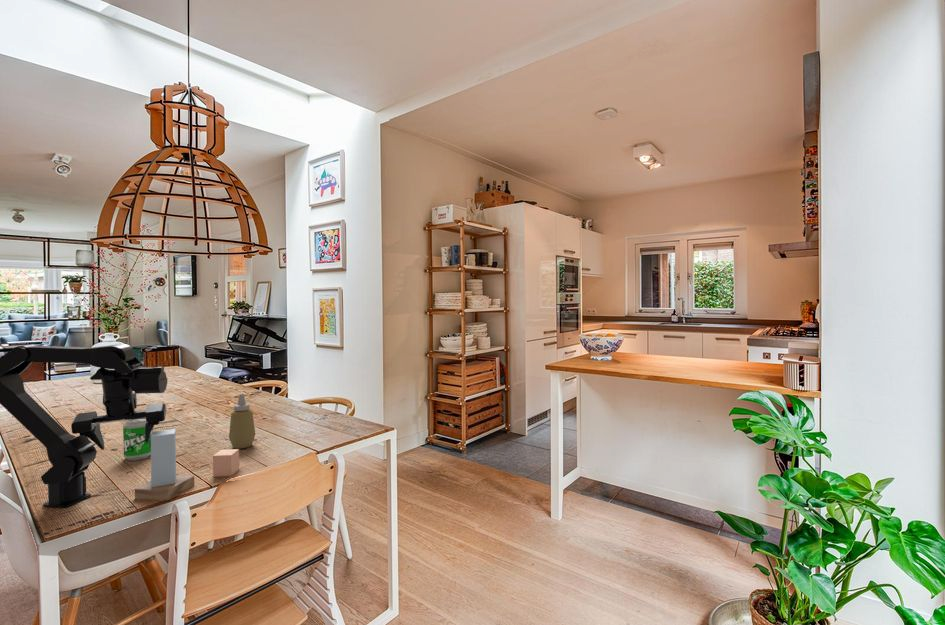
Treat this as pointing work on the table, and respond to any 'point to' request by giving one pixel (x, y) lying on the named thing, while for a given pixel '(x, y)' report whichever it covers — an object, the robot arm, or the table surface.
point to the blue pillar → (163, 457)
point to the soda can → (136, 439)
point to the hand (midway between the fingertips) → (125, 445)
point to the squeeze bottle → (241, 425)
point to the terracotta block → (226, 462)
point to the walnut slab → (164, 489)
